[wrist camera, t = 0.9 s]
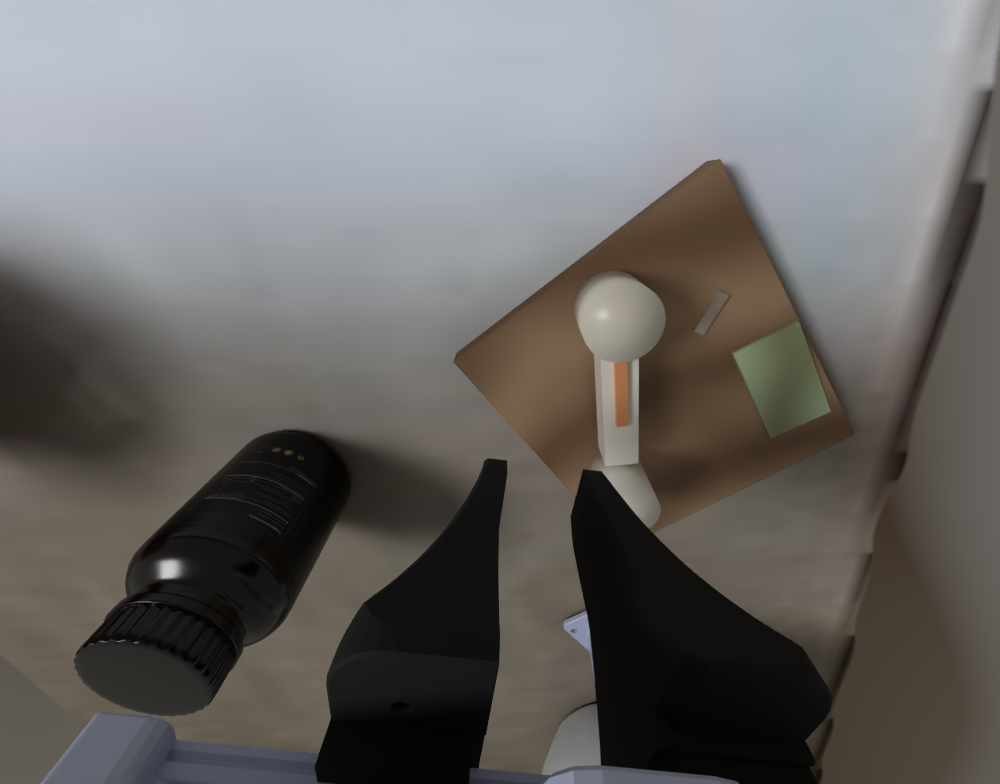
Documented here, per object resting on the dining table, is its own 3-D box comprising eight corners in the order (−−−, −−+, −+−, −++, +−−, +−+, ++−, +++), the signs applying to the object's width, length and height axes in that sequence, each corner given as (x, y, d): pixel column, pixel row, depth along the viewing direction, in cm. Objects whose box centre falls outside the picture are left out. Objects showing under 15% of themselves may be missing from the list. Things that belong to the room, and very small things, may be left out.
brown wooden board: (838, 421, 22) (857, 435, 21) (617, 533, 27) (622, 550, 25) (707, 161, 17) (722, 159, 16) (456, 353, 21) (453, 363, 20)
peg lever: (644, 485, 23) (664, 531, 20) (586, 491, 23) (597, 537, 20) (646, 265, 17) (674, 282, 14) (571, 276, 18) (582, 295, 15)
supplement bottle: (344, 526, 27) (233, 747, 16) (240, 497, 26) (51, 710, 16) (364, 446, 24) (245, 653, 13) (247, 410, 23) (20, 601, 13)
